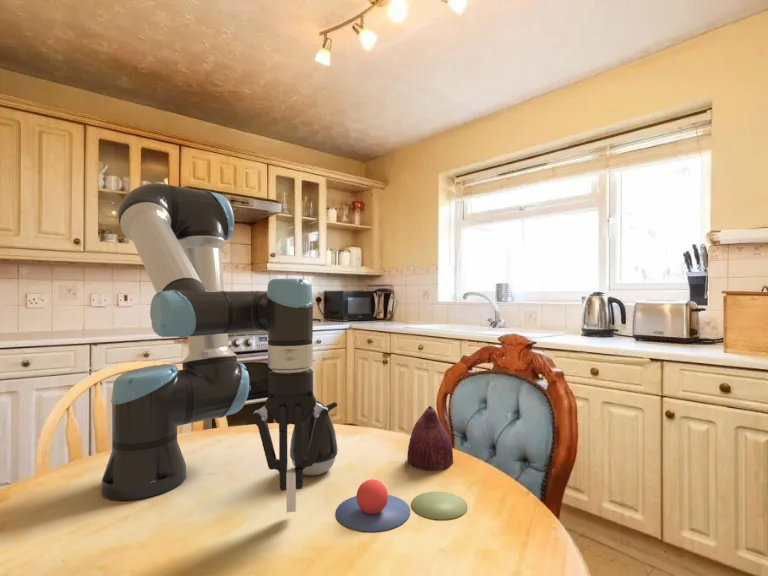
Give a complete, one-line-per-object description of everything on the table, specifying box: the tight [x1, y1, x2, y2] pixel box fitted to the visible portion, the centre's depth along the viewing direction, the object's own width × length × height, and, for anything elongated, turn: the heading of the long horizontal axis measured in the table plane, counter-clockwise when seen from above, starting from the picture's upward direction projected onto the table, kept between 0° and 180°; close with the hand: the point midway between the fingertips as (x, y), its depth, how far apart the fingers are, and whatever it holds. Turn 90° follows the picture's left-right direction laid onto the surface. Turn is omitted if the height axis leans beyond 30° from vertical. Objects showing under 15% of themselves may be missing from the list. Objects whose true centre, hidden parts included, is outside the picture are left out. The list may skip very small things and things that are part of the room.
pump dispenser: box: [289, 400, 338, 477], centre depth 93 cm, size 10×10×15 cm
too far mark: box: [410, 491, 468, 521], centre depth 77 cm, size 10×10×1 cm
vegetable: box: [406, 405, 454, 472], centre depth 96 cm, size 10×10×15 cm
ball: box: [355, 478, 389, 514], centre depth 75 cm, size 6×6×6 cm
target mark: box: [335, 494, 411, 533], centre depth 75 cm, size 13×13×1 cm
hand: (291, 508), depth 73 cm, fingers closed
